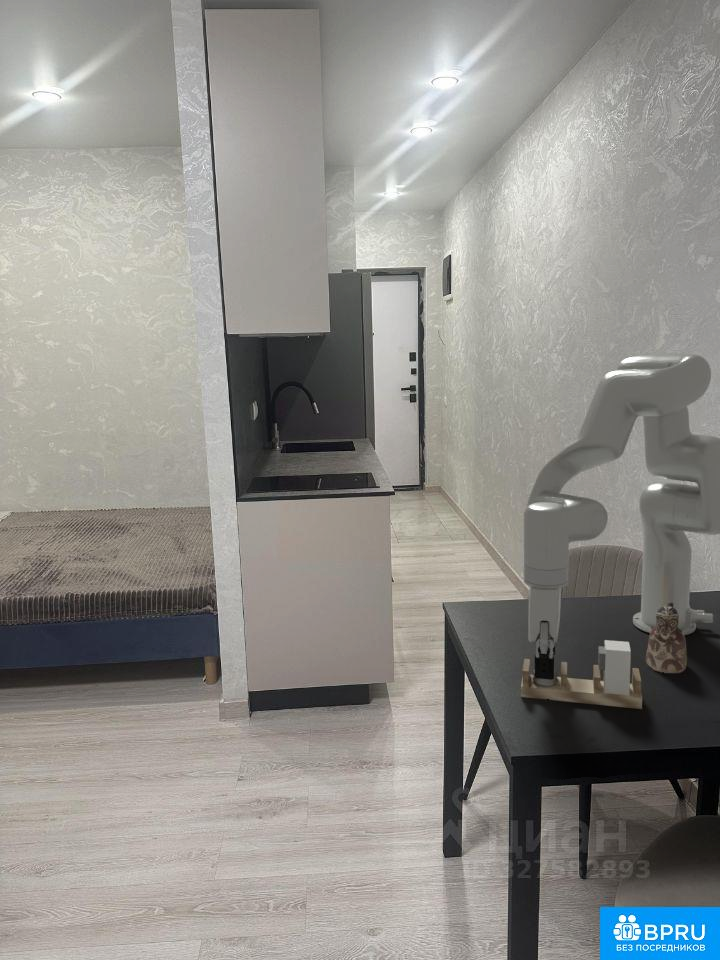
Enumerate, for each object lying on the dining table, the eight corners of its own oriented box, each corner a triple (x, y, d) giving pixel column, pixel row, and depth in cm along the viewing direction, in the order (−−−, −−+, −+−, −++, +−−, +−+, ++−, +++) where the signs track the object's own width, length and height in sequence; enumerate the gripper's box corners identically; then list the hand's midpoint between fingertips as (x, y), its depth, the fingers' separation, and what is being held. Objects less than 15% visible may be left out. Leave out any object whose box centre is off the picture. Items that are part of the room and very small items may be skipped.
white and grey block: (627, 684, 122) (628, 641, 121) (629, 695, 118) (630, 651, 117) (597, 681, 124) (598, 639, 122) (598, 692, 120) (599, 649, 118)
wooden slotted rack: (639, 695, 122) (639, 668, 121) (641, 709, 118) (642, 681, 117) (522, 683, 128) (522, 658, 127) (521, 696, 123) (521, 670, 122)
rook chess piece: (559, 688, 122) (559, 645, 120) (532, 686, 123) (532, 644, 121) (557, 676, 126) (557, 635, 125) (531, 675, 127) (531, 634, 126)
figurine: (640, 666, 133) (642, 607, 131) (653, 653, 138) (655, 596, 136) (679, 676, 128) (682, 615, 126) (691, 663, 134) (694, 603, 131)
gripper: (526, 558, 130) (526, 644, 133) (520, 589, 113) (520, 686, 117) (568, 560, 128) (567, 647, 131) (568, 592, 111) (566, 690, 114)
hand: (545, 665), depth 124 cm, fingers open, 9 cm apart
